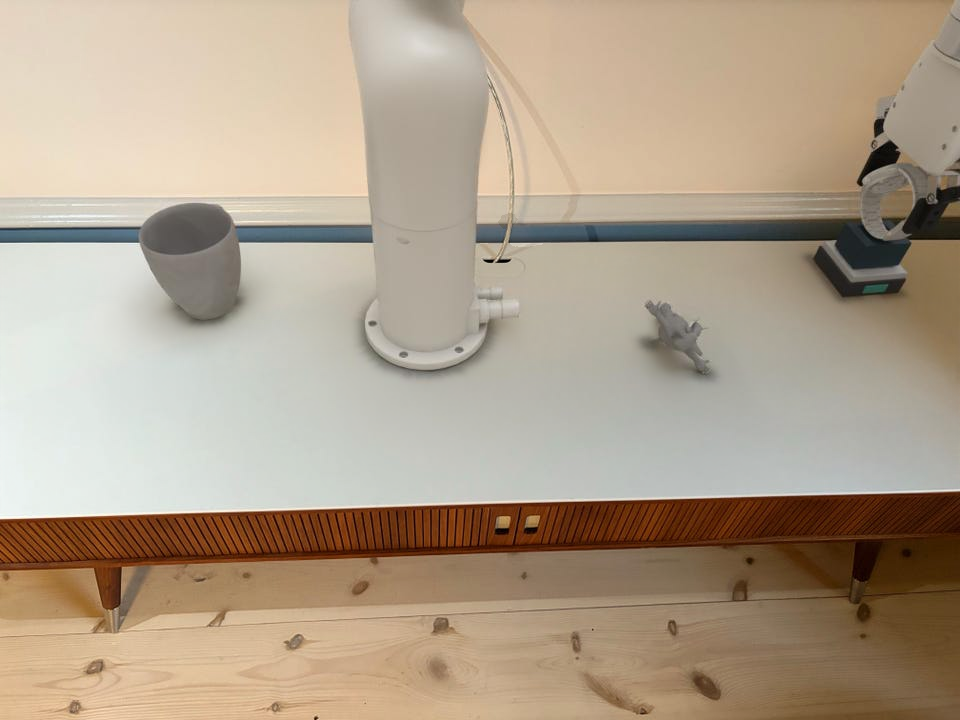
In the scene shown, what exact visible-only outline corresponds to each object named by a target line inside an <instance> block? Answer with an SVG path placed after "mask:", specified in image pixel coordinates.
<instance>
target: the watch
mask: <svg viewBox="0 0 960 720" xmlns="http://www.w3.org/2000/svg"><path fill="white" fill-rule="evenodd" d="M927 178H928V173H927V172H925V171H924V170H923V169H922V168H920V167H919V166H918V165H917V166H914V164H913V163H911V162H896V164H891V165H888V166H885V167H882V168H879V169H877V170H875V171H873V172H871V173H869V174H868V175H867V176H865V177H864V178H863V180H862V183H863V186H861V189H860V192H859V197H860V203H859V210H860V211H859V213H860V219H861V221H854V222H845V223H844V225H843V227H842V229H841V230H840V233H839V234H838V237H837V239H836V240H837V241H836V243H835V245H834V246H835V247H836V248H837V249H838V250H839V252H840V253H841V254H842V255H843V257H844V258H845V259H846V260H847V261H848V263H849V264H850V265H851V266H852V268H853V269H859V268H872V267H885V266H898V265H899V264H900V265H901V262H902V261H903V259H904V257H905V255H906V254H907V253H908V251H909V249H910V247H911V246H912V244H913V242H912V241H911V240H910V239H909V238H908V237H909V236H912V234H905V233H904V232H903V231H902V227H903V225H904V223H905V222H906V220H907V218H908V216H909V215H910V213H909V214H908V215H907V217H906V218H905V219H904V220H901V221H900V222H898V223H897V224H895V223H894V222H893V221H892V220H891V219H884V220H882V215H881V205H882V198H883V197H886V196H887V195H889V194H890V193H892V192H895V191H898V190H900V189H902V188H904V187H906V186H907V185H910V190H911V193H912V206H911V211H912V210H913V208H914V206H915V204H916V203H917V201H918V200H919V199H920V198H926V190H927Z"/></svg>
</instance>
